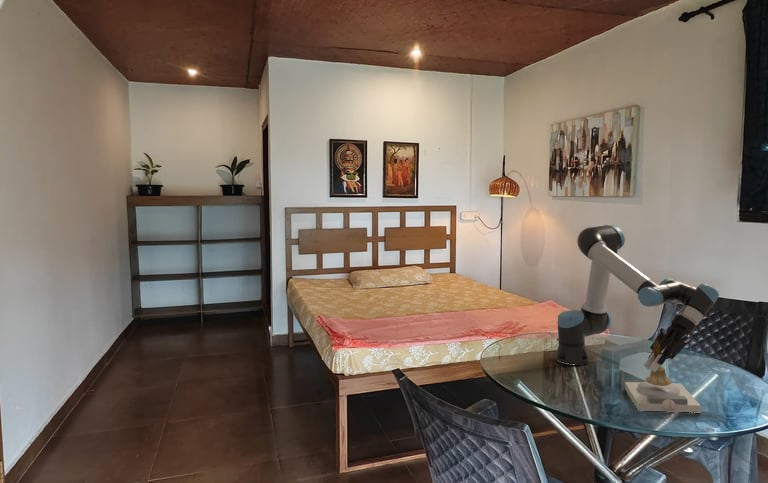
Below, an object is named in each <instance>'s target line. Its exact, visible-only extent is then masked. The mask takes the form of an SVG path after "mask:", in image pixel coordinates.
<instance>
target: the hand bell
mask: <svg viewBox="0 0 768 483" xmlns="http://www.w3.org/2000/svg"><path fill="white" fill-rule="evenodd" d="M654 340H655V339H654ZM653 342H654V345H653V352H654V355H655V359H656V358H657V356H658V355H659V354H661V353H662V352H661V347H660V344H659V341H658V340H655V341H653ZM661 355H662V354H661ZM645 382H648V383H650V384H653V385H658V386H666V385H670V384H671V383H672V380H670V379H669V378H668V376H667V372H666V368H665V367H663V366H662V365H660V367H659V368H658V369H657V370H656V372H653V371H652V370H651V369H650V373H649V376H648V377H647V378H646V379H645Z"/></svg>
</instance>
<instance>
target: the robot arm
mask: <svg viewBox="0 0 768 483" xmlns="http://www.w3.org/2000/svg"><path fill="white" fill-rule="evenodd" d="M576 243H577V246H578V249H579V251H580V252H581V253H582V255H584V256H585V258H586V257H587V258H588V259H589V260H591V265H590V270H589V278H588V285H587V289H586V290H587V291H586V297H585V302H584V303H583V304H581V308H580V310H578V309H571V310H564V311H562V312H560V313H559V314H558V315H557V323H556V324H557V334H558V335H557V336H558V346H557V349H556V352H555V356H554V357H555V360H556V359H557V360H559V361H561V362H564V363H569V364H577V365H581V364H586V365H587V363H588V364H590V362H591V361H590V360H591V359H590V355H589V352H588V350H587V348H586V342H585V339H586V337H590V336H593V335H599V334H602V333H605V332H607V330H609V329H610V327H611V324H612V317H611V316H610V312H608V311H609V310H608V308H607V306H606V302H607V294H608V288H609V282H610V277H611V274H612V275H613V276H614V277H615V278H617V279H618V280H619V281H621V282H622V283H623V284H624V285H625V286H627V287H628V289H631V290H632V291H633V292H634V293H636V295H637V299H638V301H639V303H640V304H641V305H642V306H644V307H647V308H648V307H649V308H651V307H657V306H660V305H664V304H668V303H674V302H678V303H680V304H683V305H682V307H681V308H680V310H679V311H678V312H677V314H676V315H675V316H674V317H673V318H672V320H671V325H669V326H668V327H667V328H663V327H660V329H659V333H658V334H657V336H656V337H655V339H654V341H655V340H658V341H659V344H660V347H661V354H659V355H658V356H657V358H656V359H655V355H654V352H653V345H654V341H653V342H652V344H651V345H650V350H651V353H650V355H649V356H648V358H647V360H646V361H645V362H644V363H643V366H644V367H645V368H646V369H647V370H649V371H651V370H652V371H653V372H656V370H657V369H658V368H659V367H660V365H661V366H662V365H663V364H664V363H665V362H666V360H668V359H670V360H673V359H674V358H675V357H676V356H677V355H678V354H679V353H680V352H681V351H682V350H683V349H684V348H685V347H686V345H687V346H688V344H690V343H691V342H692V340H691V339H690V337H689V335H690V334H693V332H694V331H695V330H696V327H697V326H698V325H699V324H700V322H701V321H702V319H704V317H705V316H706V314H707V313H708V312H709V311H710V309H712V307H713V305H715V303H716V302H717V300H718V299H719V297H720V294H719V291H718V289H715V288H714V287H713V286H711V285H709V284H706V283H700V284H699V285H698V286H697V287H695V286H692V285H688V284H686V283H684V282H681V281H679V280H676V279H672V278H668V277H667V278H664V279H663V280H662V281H660V283H659V284H657V283H656V282H654V281H653V280H651V279H650V278H649V277H648V276H646V275H645V274H643V273H642V272H641V271H640V270H638V269H637V268H636V267H634V266H633V265H631V264H630V262H627V260H625V259H624V258H622V257H621V256H620V255H619V254H618V252H619V251H618V250H620V249H621V248H623V247H624V246H625V243H626V238H625V234H624V232H623V231H622V229H621V228H620V227H618V226H616V225H613V224H609V225H608V224H606V225H604V224H603V225H601V226H600V225H599V226H592V227H587V228H584V229H582V230H581V232H579V234H578V236H577V240H576Z"/></svg>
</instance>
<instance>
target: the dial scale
mask: <svg viewBox="0 0 768 483" xmlns="http://www.w3.org/2000/svg"><path fill="white" fill-rule="evenodd" d="M624 389H625V391H626V394H627V396H629V399H630V400H631V402H632V404H633V403H634V404H633V405H634V407H635V406H636V407H635V408H637V409H638V410H650V411H651V410H652V411H670V412H689V413H688V414H695V413H702V412H701V411H702V410H701V408H702V407H701V406H702V405H701V404H700V403H699V402H698V401H697V400H696V398H694V397H693V395H692V394H691V393H690V392H689V391H688V389H687V388H686V387H684V385H683V384H682V383H681V382H680V383H677V382H675V383H673V382H671V384H670V385H666V386H658V385H653V384H650V383H648V382H647V381H642V382H640V381H639V382H637V381H636V382H634V381H633V382H632V381H625V382H624ZM637 409H636V410H637ZM638 410H637V411H638ZM690 412H691V413H690ZM693 412H694V413H693Z"/></svg>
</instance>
